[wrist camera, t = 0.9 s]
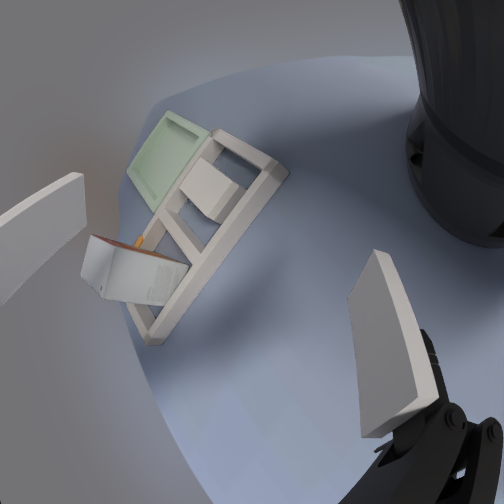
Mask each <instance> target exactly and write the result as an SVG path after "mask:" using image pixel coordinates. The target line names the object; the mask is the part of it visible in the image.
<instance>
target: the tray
mask: <svg viewBox="0 0 504 504" xmlns="http://www.w3.org/2000/svg"><path fill="white" fill-rule="evenodd" d="M210 134H211V133H210V132H208V131H207V130H205V129H203V128H201V127H199V126H197V125H196V124H194V123H192V122H190V121H188V120H186V119H184V118H182V117H181V116H179V115H177V114H175V113H173V112H171V111H169V110H167V112H166V113H165V114H164V116H163V117H162V118H161V120H160V121H159V122H158V124H157V125H156V127H155V128H154V129H153V131H152V132H151V134H150V135H149V137H148V138H147V139H146V141H145V142H144V144H143V145H142V147H141V148H140V150H139V152H138V153H137V155H136V156H135V158H134V159H133V161H132V162H131V164H130V166H129V167H128V169H127V171H126V173H127V174H128V176H129V177H130V179H131V180H132V182H133V183H134V185H135V186H136V188H137V189H138V191H139V192H140V194H141V195H142V197H143V198H144V200H145V201H146V203H147V204H148V206H149V207H150V209H151V210H152V212H153V213H156V212H157V210H158V208H159V207H160V205H161V204H162V202H163V201H164V199H165V198H166V196H167V195H168V193H169V191H170V190H171V188H172V187H173V186H174V184H175V183H176V181H177V180H178V178H179V177H180V175H181V174H182V172H183V171H184V170H185V168H186V167H187V165H188V164H189V162H190V161H191V160H192V158H193V157H194V156H195V154H196V153H197V151H198V150H199V149H200V147H201V146H202V145H203V143H204V142H205V141H206V139H207V138H208V137H209V135H210Z"/></svg>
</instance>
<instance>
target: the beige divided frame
mask: <svg viewBox="0 0 504 504" xmlns="http://www.w3.org/2000/svg"><path fill="white" fill-rule="evenodd" d="M224 148H226V149H228V150H229V151H231V152H233V153H234V154H236V155H237V156H239V157H241V158H242V159H244V160H245V161H247V162H248V163H250V164H251V165H253V166H255V167H256V168H258V169H259V170H261V171H262V172H261V173H260V174H259V175H258V177H257V178H256V179H255V181H254V182H253V183H252V185H251V186H250V187H249V189H248V190H247V191H246V193H245V194H244V195H243V197H242V198H241V199H240V201H239V202H238V203H237V205H236V206H235V207H234V209H233V210H232V211H231V213H230V214H229V215H228V217H227V218H226V219H225V221H224V222H223V224H222V225H221V226H220V228H219V229H218V230H217V232H216V233H215V235H214V236H213V237H212V239H211V240H210V242H209V243H208V244H207V246H206V247H205V245H204V244H203V243H202V242H201V241H200V239H199V238H198V237H197V236H196V235H195V233H194V232H193V231H192V230H191V229H190V227H189V226H188V225H187V224H186V223H185V221H184V220H183V219H182V218H181V217H180V215H179V214H178V213H179V211H180V210H181V208H182V207H183V205H184V204H185V202H186V201H187V199H188V197H187V196H186V195H185V194H184V193H183V191H182V190H181V189H180V188H179V187H180V185H181V184H182V182H183V181H184V179H185V178H186V176H187V175H188V174H189V172H190V171H191V169H192V168H193V167H194V165H195V164H196V162H197V161H198V160H199V158H200V157H201V158H203V159H204V160H207V161H208V162H210V163H211V164H213V163H214V162H215V160H216V159H217V157H218V156H219V155H220V154H221V152H222V151H223V150H224ZM288 175H289V172H288V171H287V170H286V169H285V168H284V167H283V166H282V165H281V164H280V163H279V162H278V161H276V160H275V159H273V158H271V157H270V156H268V155H266V154H265V153H263V152H261V151H259V150H258V149H256V148H254V147H252V146H250V145H249V144H247V143H245V142H243V141H241V140H240V139H238V138H236V137H234V136H232V135H230V134H228V133H227V132H225V131H223V130H221V129H219V128H217V127H216V128H215V129H214V130H213V132H212V133H211V134H210V135H209V137H208V138H207V139H206V141H205V142H204V143H203V145H202V146H201V147H200V149H199V150H198V151H197V153H196V154H195V156H194V157H193V158H192V160H191V161H190V162H189V164H188V165H187V167H186V168H185V170H184V171H183V172H182V174H181V175H180V177H179V178H178V180H177V181H176V183H175V184H174V186H173V187H172V188H171V190H170V191H169V193H168V195H167V196H166V198H165V199H164V201H163V202H162V204H161V205H160V207H159V208H158V210H157V212H156V213H155V215H154V216H153V218H152V220H151V221H150V223H149V224H148V226H147V228H146V229H145V231H144V233H143V234H142V236H141V235H140V236H139V238H138V239H137V241H136V243H135V245H134V247H137V248H141V249H144V250H148V251H152V252H153V251H154V250H155V248H156V247H157V245H158V243H159V242H160V240H161V239H162V237H163V236H164V234H165V232H166V231H167V230H168V232H169V233H170V234H171V236H172V237H173V239H174V240H175V241H176V243H177V244H178V246H179V247H180V248H181V250H182V251H183V252H184V254H185V255H186V256H187V258H188V259H189V260H190V262H191V263H192V264H193V266H192V267H191V268H190V270H189V271H188V273H187V274H186V276H185V277H184V279H183V280H182V281H181V283H180V284H179V286H178V287H177V289H176V290H175V292H174V293H173V295H172V296H171V298H170V299H169V301H168V302H167V304H166V305H165V307H164V308H163V310H162V311H161V313H160V314H159V316H158V317H157V319H155V317H154V315H153V313H152V311H151V310H150V308H149V306H148V305H144V304H136V303H128V302H125V303H126V305H127V308H128V310H129V312H130V314H131V316H132V318H133V321H134V323H135V325H136V327H137V329H138V331H139V333H140V335H141V337H142V339H143V341H144V343H145V345H146V346H158V345H162V344H163V342H164V341H165V340H166V338H167V337H168V335H169V334H170V333H171V331H172V330H173V329H174V327H175V326H176V324H177V323H178V322H179V320H180V319H181V317H182V316H183V315H184V313H185V312H186V311H187V309H188V308H189V306H190V305H191V304H192V302H193V301H194V300H195V298H196V297H197V296H198V294H199V293H200V291H201V290H202V289H203V287H204V286H205V285H206V283H207V282H208V281H209V279H210V278H211V276H212V275H213V274H214V272H215V271H216V270H217V268H218V267H219V266H220V264H221V263H222V262H223V260H224V259H225V258H226V256H227V255H228V254H229V252H230V251H231V250H232V248H233V247H234V246H235V244H236V243H237V242H238V240H239V239H240V238H241V236H242V235H243V234H244V232H245V231H246V230H247V228H248V227H249V226H250V224H251V223H252V222H253V220H254V219H255V218H256V216H257V215H258V214H259V212H260V211H261V210H262V209H263V207H264V206H265V205H266V203H267V202H268V201H269V199H270V198H271V197H272V195H273V194H274V193H275V192H276V190H277V189H278V188H279V186H280V185H281V184H282V182H283V181H284V180H285V179H286V177H287V176H288Z"/></svg>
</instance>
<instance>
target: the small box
mask: <svg viewBox="0 0 504 504" xmlns="http://www.w3.org/2000/svg"><path fill="white" fill-rule="evenodd" d="M188 267H189V265H187V264H184V263H181V262H178V261H176V260H173V259H171V258H168V257H166V256H163V255H161V254H158V253H156V252H152V251H148V250H144V249H141V248H137V247H134V246H131V245H127V244H123V243H120V242H117V241H113V240H110V239H107V238H103V237H100V236H97V235H93V234H91V236H90V239H89V242H88V246H87V250H86V254H85V257H84V261H83V266H82V270H81V275H80V277H81V278H82V279H83V280H84V281H86V282H87V283H88V284H89V285H90V286H91V287H92V288H93V289H94V290H95V291H96V292H97V293H98V294H99V295H100V296H101V298H102V299H105V300H113V301H120V302H128V303H136V304H144V305H153V306H163V307H165V305H166V304H167V302H168V301H169V299H170V298H171V296H172V295H173V293H174V292H175V290H176V289H177V287H178V286H179V284H180V283H181V281H182V280H183V279H184V277H185V276H186V274H187V271H188Z"/></svg>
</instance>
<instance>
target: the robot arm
mask: <svg viewBox="0 0 504 504" xmlns="http://www.w3.org/2000/svg"><path fill="white" fill-rule="evenodd" d="M399 3H400V6H401V9H402V12H403V16H404V19H405V22H406V26H407V30H408V33H409V37H410V41H411V45H412V50H413V54H414V59H415V64H416V69H417V75H418V81H419V87H420V95H419V98H418V101H417V104H416V106H415V109H414V112H413V114H412V117H411V119H410V122H409V125H408V129H407V135H406V155H407V164H408V170H409V175H410V179H411V182H412V185H413V187H414V189H415V192H416V194H417V196H418V197H419V199H420V201H421V202H422V204H423V206H424V207H425V208H426V210H427V211H428V212H429V214H430V215H431V216H432V217H433V218H434V219H435V220H436V221H437V222H438V223H439V224H440V225H441V226H442V227H443V228H445V229H446V230H447V231H448V232H450V233H451V234H453V235H454V236H456V237H458V238H459V239H461V240H463V241H465V242H468V243H470V244H473V245H476V246H480V247H486V248H502V247H504V0H399ZM86 226H87V218H86V207H85V192H84V174H80V173H75V172H72V173H70V174H68V175H66V176H65V177H63V178H61V179H59V180H57V181H55V182H54V183H52V184H50V185H48V186H47V187H45V188H43V189H42V190H40V191H38V192H37V193H35V194H33V195H32V196H30V197H28V198H27V199H25V200H24V201H22V202H21V203H19V204H17V205H16V206H14V207H13V208H11V209H10V210H9V211H7V212H6V213H4V214H3V215H1V216H0V308H1V307H2V305H4V303H5V302H6V301H7V300H8V299H9V298H10V297H11V296H12V295H13V294H14V293H15V291H16V290H17V289H18V288H19V287H20V286H21V285H22V284H23V283H24V282H25V281H26V280H27V279H28V278H29V277H30V276H31V275H32V274H33V273H34V272H35V271H36V270H37V269H38V268H39V267H40V266H41V265H42V264H43V263H44V262H46V261H47V260H48V259H49V258H50V257H51V256H52V255H53V254H54V253H55V252H56V251H57V250H59V249H60V248H61V247H62V246H63V245H64V244H65V243H66V242H68V241H69V240H70V239H71V238H72V237H73V236H75V235H76V234H77V233H78V232H79V231H81V230H82V229H83V228H84V227H86ZM347 299H348V305H349V312H350V319H351V326H352V333H353V341H354V349H355V358H356V367H357V378H358V389H359V403H360V420H361V438H382V437H384V436H385V435H387V434H388V433H390V432H392V431H393V439H392V440H390V441H389V442H387V443H385V444H383V445H382V446H380V447H378V448H377V449H376V450H375V451H374V452H375V453H377V452H379V451H381V450H382V452H381V453H380V454H379V456H378V457H377V459H376V460H375V461H374V463H373V464H372V465H371V466H370V468H369V469H368V470H367V471H366V473H365V474H364V475H363V476H362V478H361V479H360V480H359V481H358V482H357V484H356V485H355V486H354V487H353V488H352V489H351V490H350V492H349V493H348V494H347V495H346V496H345V497H344V498H343V499H342V500H341V501H340V502H339V503H338V504H494V500H495V496H496V491H497V486H498V480H499V474H500V467H501V459H502V449H503V431H502V427H501V425H500V423H499V422H498V421H497V420H496V419H495V418H492V417H489V418H487V419H485V420H484V421H483V422H481V423H480V424H475V423H472V422H469V421H467V418H466V415H465V413H464V411H463V410H462V409H461V408H460V406H458V405H457V404H455V403H450V402H449V398H448V394H447V391H446V387H445V383H444V379H443V376H442V372H441V369H440V366H438V364H439V362H438V359H437V356H435V354H436V353H435V350H434V347H433V344H432V341H431V340H430V338H429V337H428V335H427V334H426V332H425V331H424V330H423V329H419V327H418V324H417V321H416V318H415V315H414V313H413V310H412V307H411V305H410V302H409V299H408V297H407V294H406V292H405V289H404V287H403V284H402V282H401V280H400V277H399V275H398V273H397V270H396V268H395V266H394V263H393V261H392V259H391V257H390V255H389V254H388V253H385V252H382V251H378V250H375V249H374V250H373V252H372V254H371V256H370V258H369V259H368V261H367V263H366V265H365V267H364V269H363V271H362V273H361V275H360V277H359V278H358V280H357V282H356V284H355V286H354V288H353V289H352V291H351V293H350V295H349V296H348V298H347ZM465 468H466V470H465V475H464V476H463V477H461V478H459V479H457V478H456V476H457V472H459V471H461V470H463V469H465ZM0 504H1V502H0Z"/></svg>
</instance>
